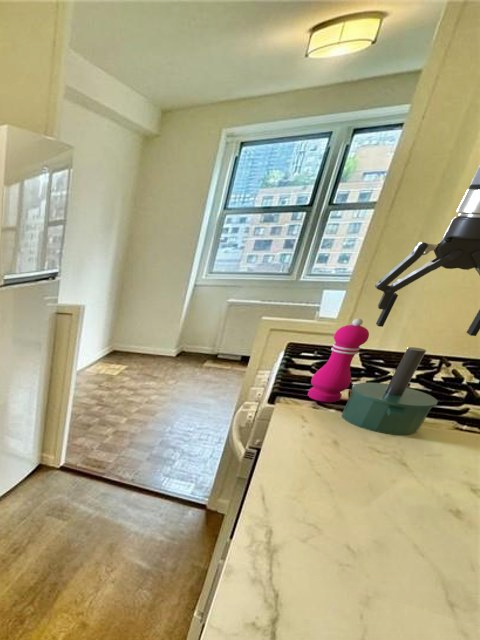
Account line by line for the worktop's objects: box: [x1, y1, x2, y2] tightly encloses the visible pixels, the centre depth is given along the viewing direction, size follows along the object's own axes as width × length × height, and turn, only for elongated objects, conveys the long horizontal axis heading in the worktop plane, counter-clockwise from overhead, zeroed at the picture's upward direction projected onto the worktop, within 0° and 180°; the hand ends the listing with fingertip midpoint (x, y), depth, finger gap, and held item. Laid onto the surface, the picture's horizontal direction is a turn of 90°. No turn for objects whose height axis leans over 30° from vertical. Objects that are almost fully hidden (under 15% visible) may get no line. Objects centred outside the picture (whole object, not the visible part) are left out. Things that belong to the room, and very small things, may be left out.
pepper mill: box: [307, 318, 370, 404], centre depth 117 cm, size 7×7×20 cm
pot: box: [341, 390, 433, 436], centre depth 108 cm, size 13×18×6 cm
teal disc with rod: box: [351, 346, 439, 409], centre depth 104 cm, size 14×14×11 cm
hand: (423, 329), depth 100 cm, fingers open, 13 cm apart
